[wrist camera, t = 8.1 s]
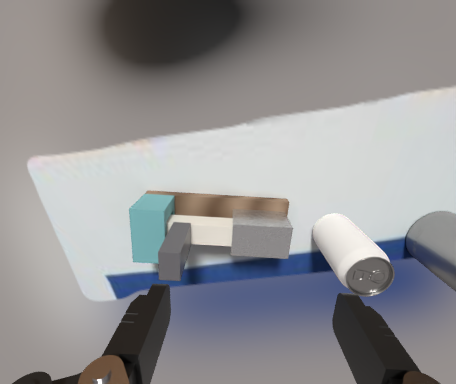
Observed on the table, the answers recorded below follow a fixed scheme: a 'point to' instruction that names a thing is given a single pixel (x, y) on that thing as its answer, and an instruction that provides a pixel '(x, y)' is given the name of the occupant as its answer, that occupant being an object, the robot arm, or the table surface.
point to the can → (353, 255)
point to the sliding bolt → (189, 241)
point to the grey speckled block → (260, 234)
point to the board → (221, 204)
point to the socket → (149, 225)
